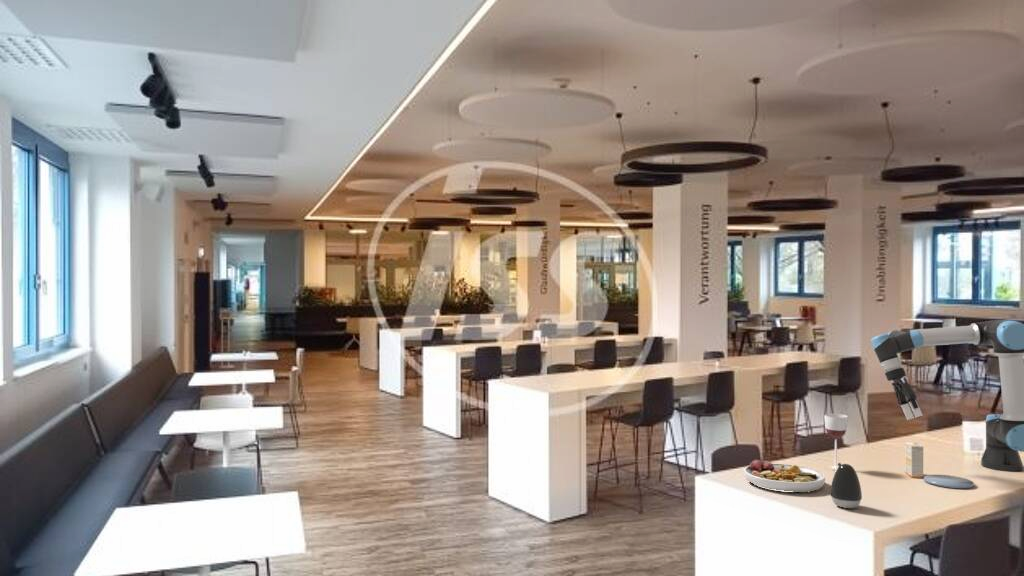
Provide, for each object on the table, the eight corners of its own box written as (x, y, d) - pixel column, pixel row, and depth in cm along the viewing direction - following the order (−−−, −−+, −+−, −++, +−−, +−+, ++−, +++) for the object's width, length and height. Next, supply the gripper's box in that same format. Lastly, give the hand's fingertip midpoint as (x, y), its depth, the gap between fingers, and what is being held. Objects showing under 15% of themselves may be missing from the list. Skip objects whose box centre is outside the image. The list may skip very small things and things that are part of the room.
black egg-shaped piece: (852, 502, 262) (852, 460, 262) (867, 511, 252) (867, 467, 252) (824, 502, 262) (825, 460, 262) (838, 511, 252) (838, 467, 252)
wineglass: (826, 471, 308) (826, 417, 308) (822, 465, 317) (822, 413, 318) (849, 472, 306) (850, 418, 306) (844, 466, 315) (845, 414, 315)
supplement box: (924, 478, 296) (924, 446, 296) (911, 477, 297) (911, 446, 297) (917, 473, 304) (917, 442, 304) (904, 472, 305) (904, 441, 305)
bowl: (838, 485, 286) (838, 465, 286) (803, 500, 265) (803, 479, 265) (766, 471, 308) (766, 453, 308) (729, 484, 287) (729, 464, 287)
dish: (939, 476, 300) (939, 472, 300) (982, 485, 286) (982, 482, 286) (914, 481, 292) (915, 477, 292) (958, 491, 277) (958, 487, 277)
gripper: (878, 376, 322) (898, 422, 315) (891, 368, 299) (913, 418, 292) (895, 371, 321) (916, 417, 314) (909, 362, 297) (932, 412, 291)
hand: (915, 417), depth 303 cm, fingers open, 13 cm apart
